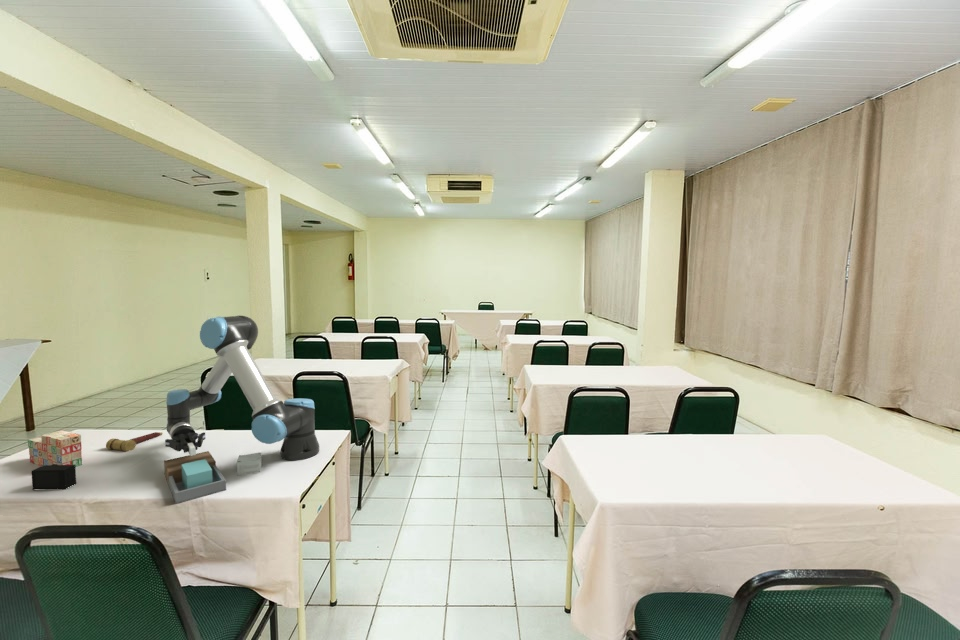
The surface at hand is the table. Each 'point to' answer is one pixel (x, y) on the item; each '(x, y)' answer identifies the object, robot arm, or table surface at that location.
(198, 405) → the robot arm
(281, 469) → the table surface
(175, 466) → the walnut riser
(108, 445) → the gavel
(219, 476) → the bin
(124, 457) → the table surface
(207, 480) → the teal block
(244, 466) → the small box
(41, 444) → the stack of blocks
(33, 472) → the digital camera
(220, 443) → the table surface
